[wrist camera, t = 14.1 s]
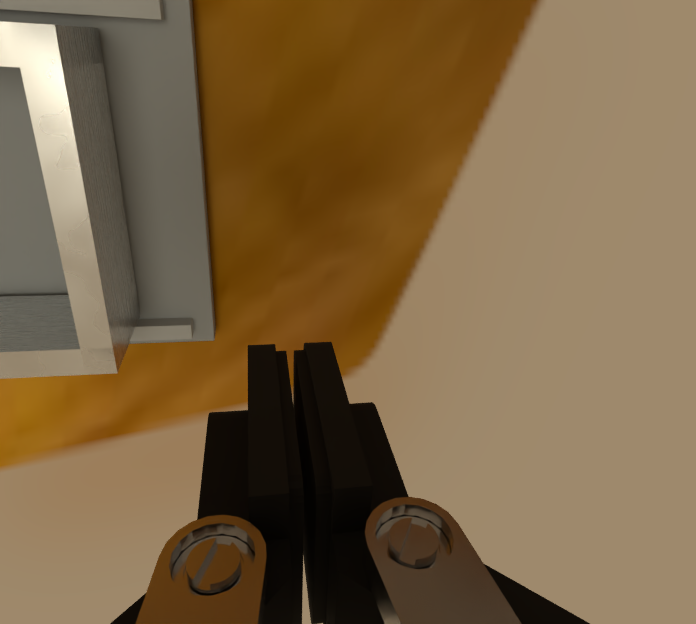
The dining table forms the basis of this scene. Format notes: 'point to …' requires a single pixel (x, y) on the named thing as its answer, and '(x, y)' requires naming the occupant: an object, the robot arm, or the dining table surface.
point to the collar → (71, 211)
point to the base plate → (121, 164)
